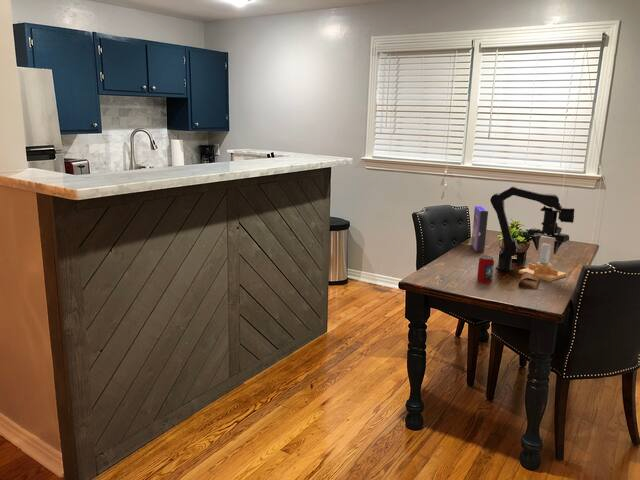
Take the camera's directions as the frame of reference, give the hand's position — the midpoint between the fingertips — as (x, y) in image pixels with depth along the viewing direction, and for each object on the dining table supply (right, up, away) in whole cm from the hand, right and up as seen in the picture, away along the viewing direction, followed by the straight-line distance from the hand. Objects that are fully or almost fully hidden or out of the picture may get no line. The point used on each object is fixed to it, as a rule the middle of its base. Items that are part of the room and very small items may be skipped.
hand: (545, 251), depth 252 cm
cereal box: (-17, +1, +54) cm, 56 cm away
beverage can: (-34, -14, -13) cm, 39 cm away
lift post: (0, -6, +1) cm, 6 cm away
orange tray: (-1, -11, +2) cm, 12 cm away
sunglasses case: (-13, -15, -13) cm, 24 cm away
